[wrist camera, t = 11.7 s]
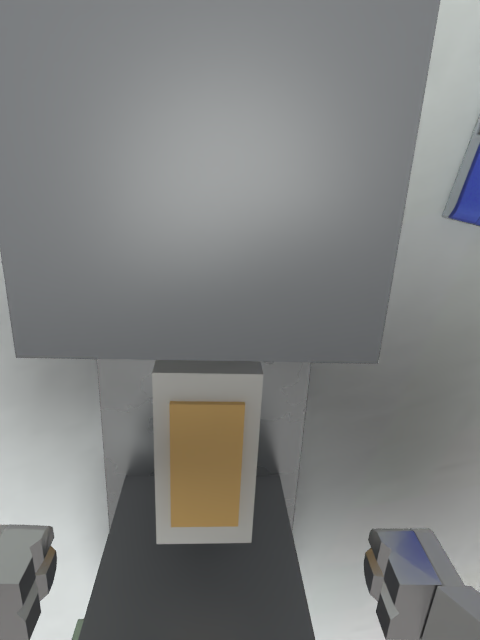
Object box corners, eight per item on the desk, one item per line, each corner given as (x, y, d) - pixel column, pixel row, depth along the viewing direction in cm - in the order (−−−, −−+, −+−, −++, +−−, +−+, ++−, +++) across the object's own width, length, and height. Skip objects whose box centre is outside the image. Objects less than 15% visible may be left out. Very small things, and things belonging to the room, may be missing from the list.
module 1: (312, 94, 17) (440, -3, 7) (296, 267, 19) (378, 363, 10) (94, 81, 16) (-76, -46, 7) (105, 261, 18) (-9, 357, 9)
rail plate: (345, 22, 16) (350, 17, 15) (282, 594, 26) (283, 604, 25) (75, 2, 15) (69, -5, 15) (117, 598, 25) (115, 608, 25)
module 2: (277, 467, 23) (323, 678, 13) (268, 564, 25) (302, 801, 16) (118, 468, 22) (46, 689, 13) (124, 567, 24) (68, 816, 15)
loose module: (248, 313, 19) (264, 377, 13) (241, 443, 21) (251, 547, 15) (170, 311, 19) (151, 375, 13) (171, 444, 21) (155, 548, 15)
